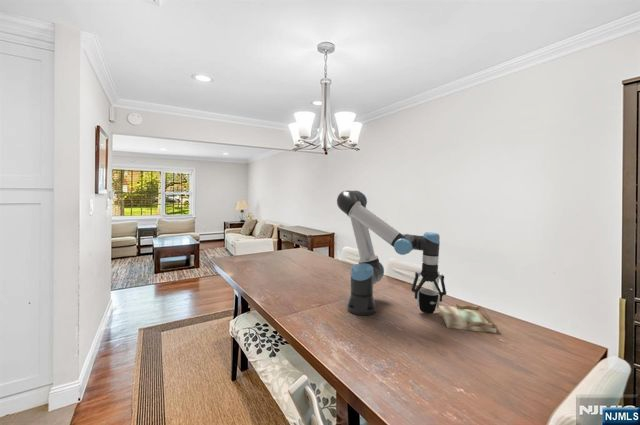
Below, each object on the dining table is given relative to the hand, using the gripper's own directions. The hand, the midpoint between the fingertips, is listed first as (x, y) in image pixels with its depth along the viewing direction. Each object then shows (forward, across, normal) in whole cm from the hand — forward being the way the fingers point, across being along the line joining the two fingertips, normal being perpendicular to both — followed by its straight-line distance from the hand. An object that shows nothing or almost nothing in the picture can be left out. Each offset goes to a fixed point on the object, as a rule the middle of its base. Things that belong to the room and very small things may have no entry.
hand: (427, 306), depth 139 cm
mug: (+2, +1, 0) cm, 3 cm away
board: (+3, +17, -3) cm, 17 cm away
